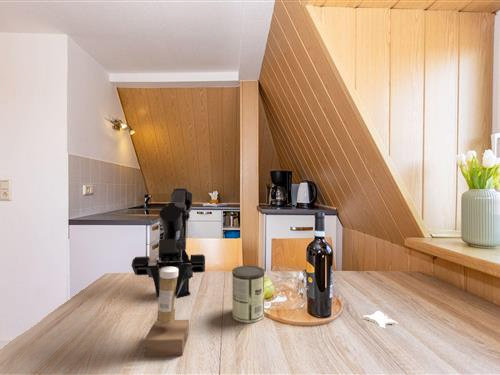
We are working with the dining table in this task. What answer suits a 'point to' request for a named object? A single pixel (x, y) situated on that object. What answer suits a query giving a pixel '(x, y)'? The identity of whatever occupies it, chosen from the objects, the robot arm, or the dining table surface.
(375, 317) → the acanthus leaf ornament
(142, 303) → the dining table surface
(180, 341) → the walnut box
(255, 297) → the coffee can
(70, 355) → the dining table surface
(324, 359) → the dining table surface
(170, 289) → the sprinkles bottle
